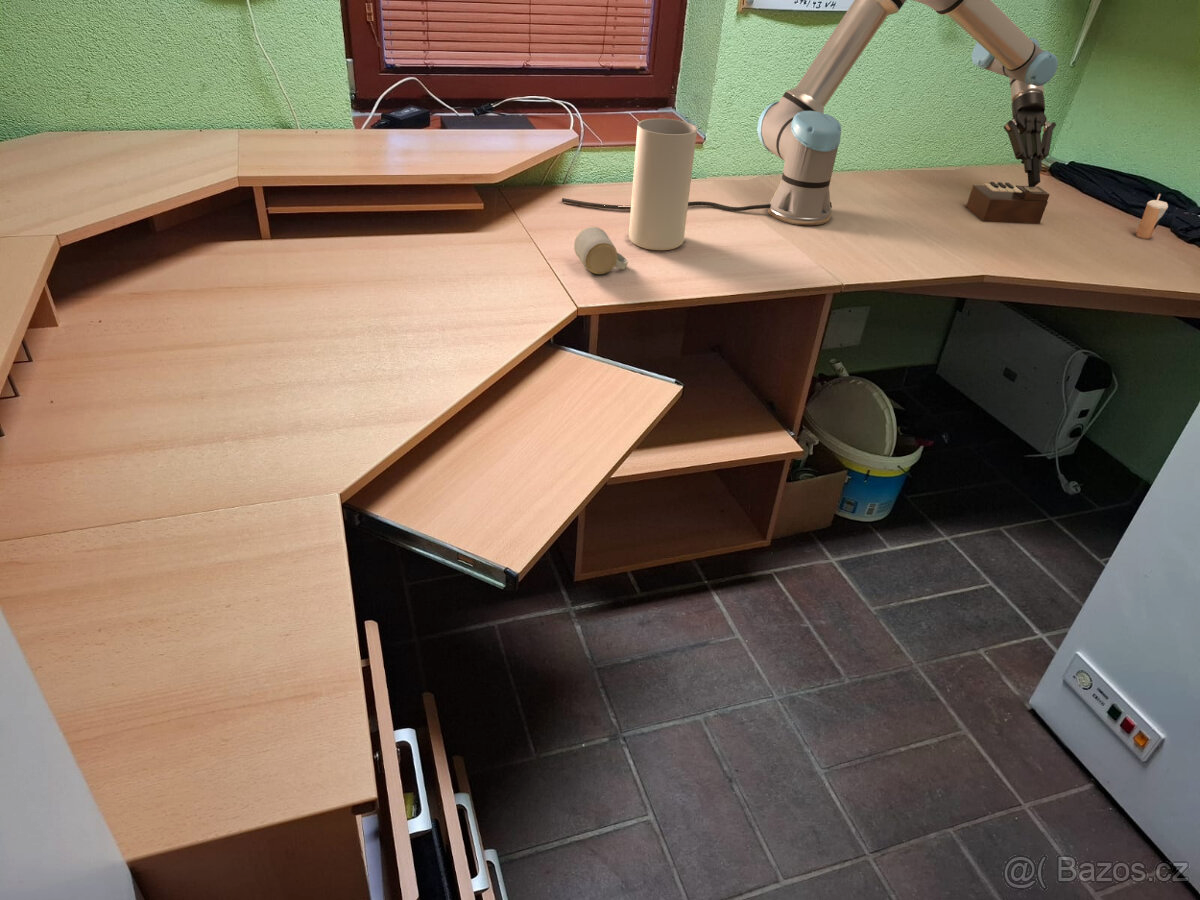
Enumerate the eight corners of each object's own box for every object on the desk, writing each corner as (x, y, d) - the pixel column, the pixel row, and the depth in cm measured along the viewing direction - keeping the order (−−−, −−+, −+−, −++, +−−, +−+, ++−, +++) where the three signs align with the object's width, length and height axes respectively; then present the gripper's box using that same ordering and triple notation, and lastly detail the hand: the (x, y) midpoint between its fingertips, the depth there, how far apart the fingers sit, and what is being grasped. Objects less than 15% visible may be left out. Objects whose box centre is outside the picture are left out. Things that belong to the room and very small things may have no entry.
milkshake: (1151, 234, 207) (1170, 195, 201) (1153, 241, 203) (1172, 201, 197) (1132, 230, 208) (1149, 192, 202) (1133, 237, 204) (1151, 198, 198)
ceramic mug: (585, 278, 166) (587, 242, 161) (572, 262, 172) (574, 227, 167) (632, 274, 169) (636, 239, 165) (619, 258, 175) (622, 224, 171)
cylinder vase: (694, 242, 185) (709, 128, 170) (660, 256, 177) (672, 138, 162) (651, 226, 191) (662, 115, 177) (617, 239, 184) (625, 124, 169)
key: (1026, 198, 206) (1029, 191, 205) (1021, 194, 209) (1024, 186, 208) (1039, 199, 207) (1042, 191, 205) (1033, 194, 209) (1036, 187, 208)
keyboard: (992, 191, 204) (993, 188, 203) (983, 184, 208) (984, 181, 207) (1022, 192, 204) (1023, 189, 204) (1012, 185, 208) (1014, 182, 208)
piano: (983, 221, 208) (993, 192, 203) (965, 206, 216) (975, 178, 212) (1039, 223, 209) (1050, 194, 204) (1020, 208, 217) (1030, 180, 213)
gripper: (1043, 108, 214) (1050, 192, 210) (995, 106, 213) (1001, 190, 209) (1060, 91, 207) (1068, 178, 203) (1011, 89, 206) (1018, 176, 202)
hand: (1034, 184), depth 206 cm, fingers closed
